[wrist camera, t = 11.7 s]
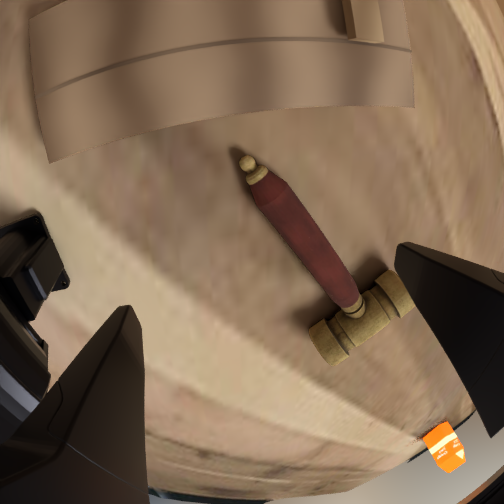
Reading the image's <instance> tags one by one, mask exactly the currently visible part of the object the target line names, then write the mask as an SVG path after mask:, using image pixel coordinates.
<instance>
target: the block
mask: <svg viewBox="0 0 504 504" xmlns="http://www.w3.org/2000/svg"><path fill="white" fill-rule="evenodd" d="M342 5H343V11H344V17H345V23H346V30H347V37H348V40H352V41H360V42H368V43H381V42H384V36H383V29H382V22H381V16H380V10H379V5H378V0H342Z"/></svg>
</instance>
